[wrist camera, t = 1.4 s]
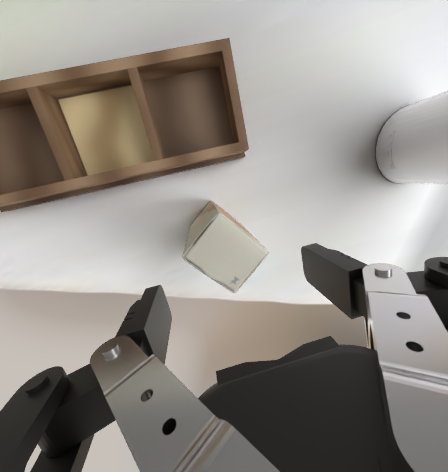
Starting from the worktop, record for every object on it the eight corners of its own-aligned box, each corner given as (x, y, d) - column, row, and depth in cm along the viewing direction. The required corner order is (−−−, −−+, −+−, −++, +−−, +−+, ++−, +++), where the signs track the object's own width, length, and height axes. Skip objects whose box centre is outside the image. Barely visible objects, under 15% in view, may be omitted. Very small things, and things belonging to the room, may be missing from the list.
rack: (224, 55, 21) (229, 31, 18) (243, 157, 24) (250, 153, 20) (-45, 107, 19) (-95, 91, 16) (9, 210, 22) (-25, 215, 19)
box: (242, 224, 26) (274, 254, 15) (220, 251, 26) (236, 297, 16) (208, 198, 24) (218, 210, 14) (187, 226, 25) (179, 259, 14)
